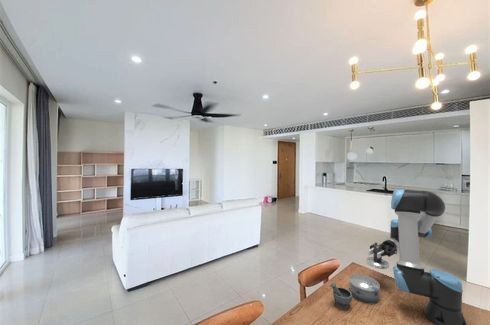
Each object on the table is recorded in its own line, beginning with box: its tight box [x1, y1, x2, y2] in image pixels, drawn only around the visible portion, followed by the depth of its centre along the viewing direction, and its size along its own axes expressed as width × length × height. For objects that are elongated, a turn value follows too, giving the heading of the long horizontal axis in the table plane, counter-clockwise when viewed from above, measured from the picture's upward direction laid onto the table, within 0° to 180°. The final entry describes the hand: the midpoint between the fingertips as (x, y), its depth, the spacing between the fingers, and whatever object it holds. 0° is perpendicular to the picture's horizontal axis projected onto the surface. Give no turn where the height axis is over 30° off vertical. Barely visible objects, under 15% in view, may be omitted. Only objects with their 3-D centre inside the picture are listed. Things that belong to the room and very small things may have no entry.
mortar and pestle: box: [330, 282, 353, 310], centre depth 116 cm, size 11×9×12 cm
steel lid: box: [366, 245, 390, 270], centre depth 132 cm, size 12×12×12 cm
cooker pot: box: [348, 273, 381, 304], centre depth 124 cm, size 16×16×8 cm
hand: (373, 254), depth 129 cm, fingers closed on steel lid, 4 cm apart
